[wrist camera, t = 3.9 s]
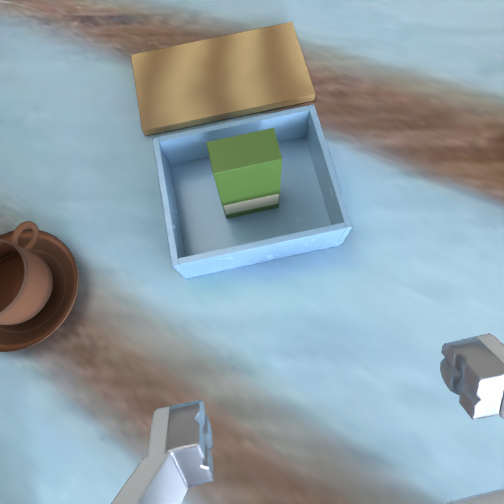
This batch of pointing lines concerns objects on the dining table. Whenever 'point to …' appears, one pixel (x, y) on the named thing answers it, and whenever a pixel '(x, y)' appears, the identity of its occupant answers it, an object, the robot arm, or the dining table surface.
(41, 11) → the dining table surface
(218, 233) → the basin
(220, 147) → the block
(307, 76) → the board
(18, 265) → the cup and saucer
